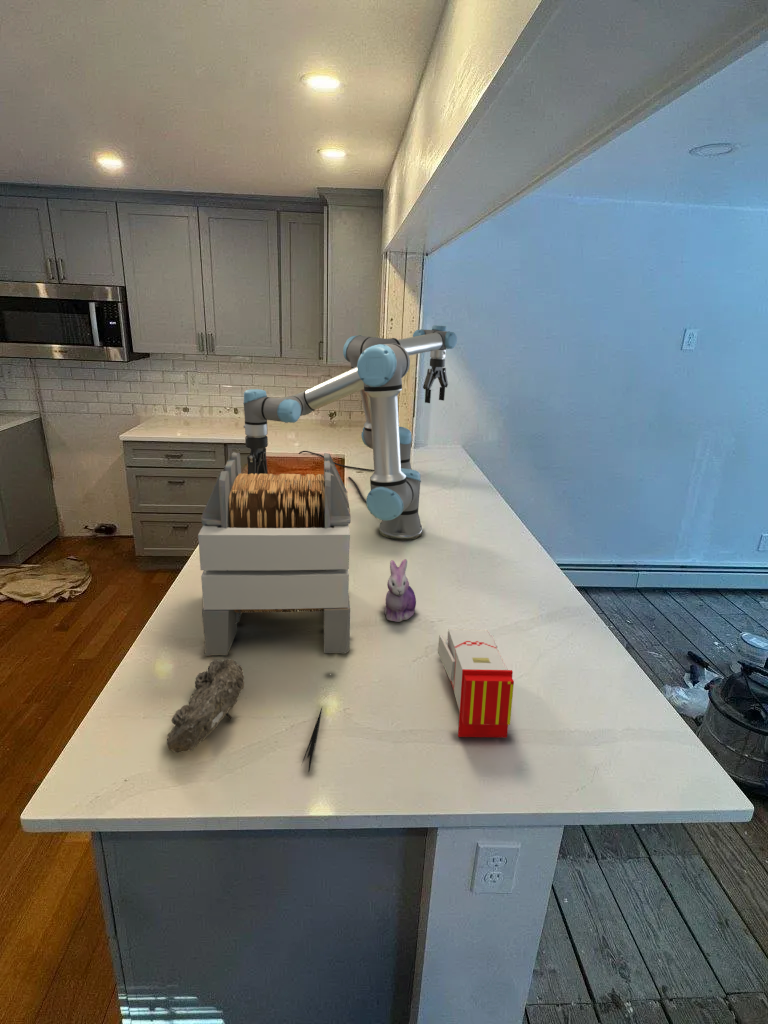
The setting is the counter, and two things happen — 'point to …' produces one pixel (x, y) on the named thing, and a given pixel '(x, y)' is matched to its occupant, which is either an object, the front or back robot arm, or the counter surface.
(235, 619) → the record crate
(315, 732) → the feather
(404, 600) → the figurine
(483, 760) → the counter surface
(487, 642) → the toy
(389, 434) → the front robot arm
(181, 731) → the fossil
